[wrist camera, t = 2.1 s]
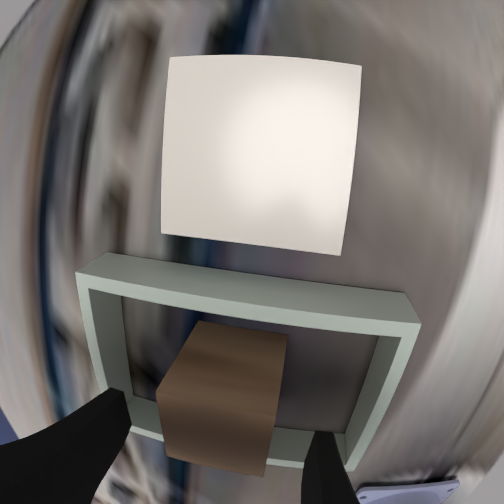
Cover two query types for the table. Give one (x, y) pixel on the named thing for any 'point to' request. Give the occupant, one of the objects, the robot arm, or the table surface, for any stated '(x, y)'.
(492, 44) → the table surface
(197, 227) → the tile
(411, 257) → the table surface
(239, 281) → the green rectangular frame
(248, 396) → the walnut block
